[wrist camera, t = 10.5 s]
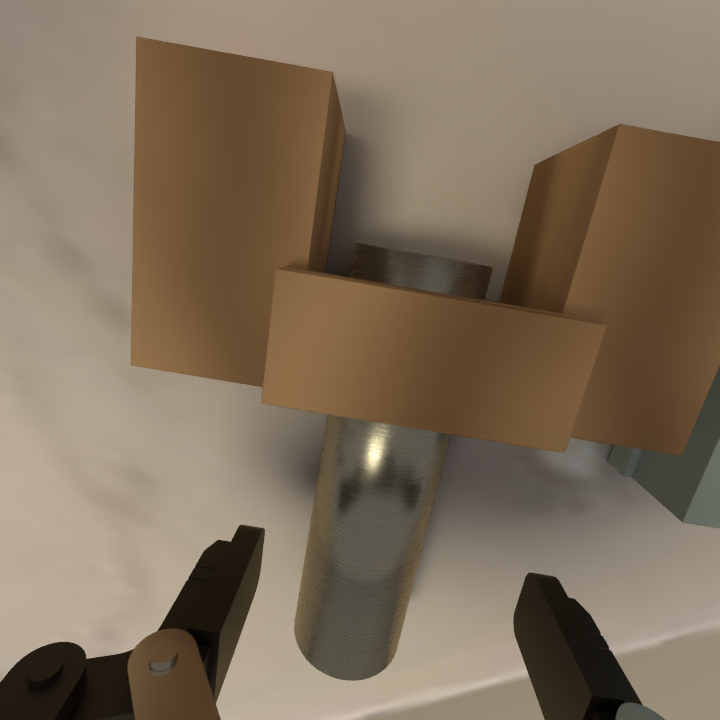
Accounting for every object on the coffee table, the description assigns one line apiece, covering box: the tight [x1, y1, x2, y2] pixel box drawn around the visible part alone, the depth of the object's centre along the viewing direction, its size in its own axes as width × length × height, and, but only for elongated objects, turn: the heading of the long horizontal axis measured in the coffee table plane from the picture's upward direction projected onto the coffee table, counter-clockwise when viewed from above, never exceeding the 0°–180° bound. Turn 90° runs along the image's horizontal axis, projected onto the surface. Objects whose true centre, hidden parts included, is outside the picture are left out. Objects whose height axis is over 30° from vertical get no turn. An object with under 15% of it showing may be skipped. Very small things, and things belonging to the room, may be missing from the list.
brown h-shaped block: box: [131, 37, 720, 456], centre depth 11 cm, size 14×7×6 cm, turn 81°
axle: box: [294, 243, 493, 681], centre depth 14 cm, size 14×4×4 cm, turn 170°
